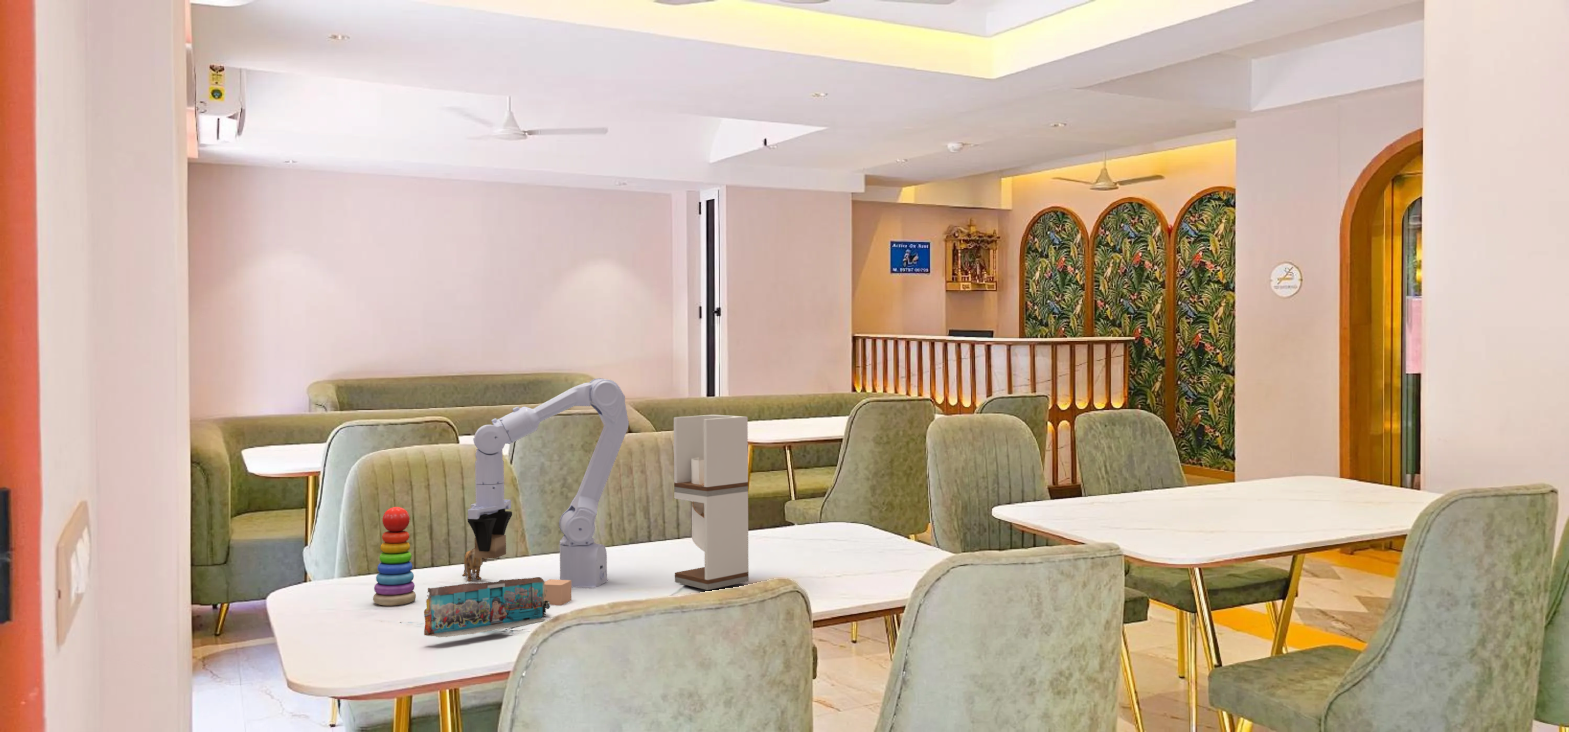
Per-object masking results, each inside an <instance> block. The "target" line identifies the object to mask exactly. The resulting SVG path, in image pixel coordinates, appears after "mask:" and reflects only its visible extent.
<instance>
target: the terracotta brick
mask: <svg viewBox="0 0 1569 732" xmlns="http://www.w3.org/2000/svg"><path fill="white" fill-rule="evenodd" d="M544 582H545V584H544V585H545V589H544V590H545V592H544V595H545V594H546V598H545V596H544V601H545V600H547V601H549V604H550V606H552V605H553V606H554V605H555V606H563V605H564V604H567V603H568V602H570V601H572V599H573V598H572V587H571V580H560V579H552V578H551V579H548V580H544ZM546 590H547V591H546Z"/></svg>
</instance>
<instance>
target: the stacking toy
mask: <svg viewBox="0 0 1569 732" xmlns="http://www.w3.org/2000/svg"><path fill="white" fill-rule="evenodd" d="M410 518H411V517H410V514H409V512H408V511H407V510H406V509H405V508H404V507H400V506H394V507H393V506H392V507H390V508H388V509H387V510H386V511H384V514H383V515H382V518H381V519H382V525H383V528H385V530H387V531H384V532H383V533H382V535H381V539H382V541H383V542H382V543H381V545H380V551H381V553H380V555H379V561H380V562H379V564H378V565H377V572H378V573H377V575H376V576H375V580H376V583H375V584H374V587H373V589H374V592H375V593H374V594H373V597H372V600H373V603H375V604H376V605H379V606H386V607H388V606H389V607H391V606H402V605H406V604H411V603H412V602H414V601H415V600H416V597H417V594H416V592H415V591H414V590H415V583H414V581H413V580H414V576H415V575H414V574H415V573H414V572H413V571H412V569H413V564H412V563H413V562H411V559H412V557H413V556H412V555H413V554H412V553H411V552H410V549H411V545H410V543H409V542H408V540H409V539H410V533H409V532H408V531H406V529H407V528H408V526H409V524H410V520H411V519H410Z"/></svg>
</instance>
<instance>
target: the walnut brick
mask: <svg viewBox="0 0 1569 732" xmlns="http://www.w3.org/2000/svg"><path fill="white" fill-rule="evenodd" d="M474 548H475V558H488V559H497V558H499V557H503V556H505V555H506V554H507V535H506V534H505V535H492V537H491V547H490V551H488V552H485V551H479V549H478V545H477V541H476V538H475V537H474Z"/></svg>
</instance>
